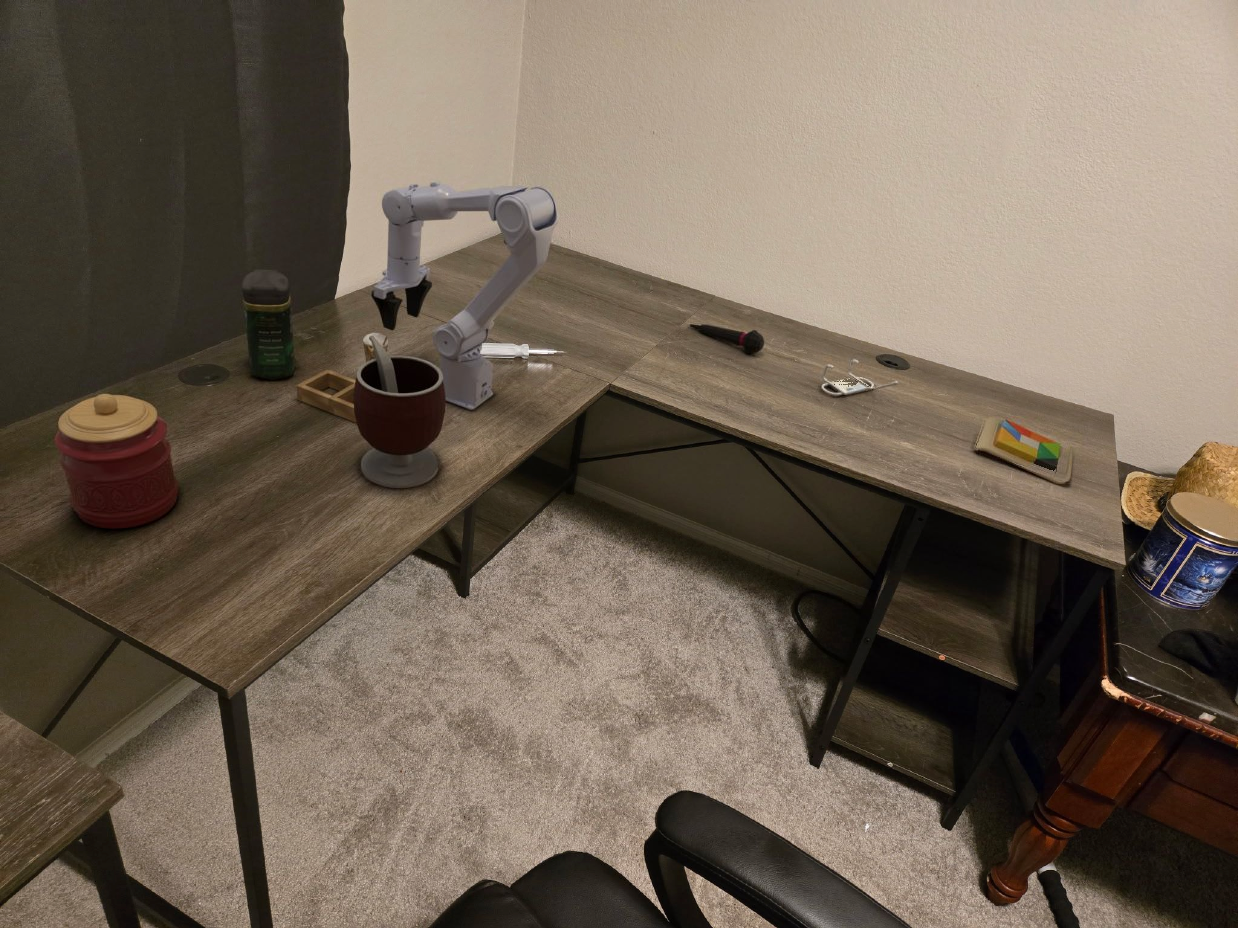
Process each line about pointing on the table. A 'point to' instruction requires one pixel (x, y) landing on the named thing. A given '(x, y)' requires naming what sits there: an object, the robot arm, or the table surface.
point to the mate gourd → (399, 417)
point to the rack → (333, 404)
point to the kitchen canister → (116, 461)
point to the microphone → (734, 337)
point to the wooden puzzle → (1021, 446)
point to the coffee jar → (268, 324)
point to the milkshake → (369, 347)
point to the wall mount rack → (851, 389)
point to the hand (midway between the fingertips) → (401, 321)
